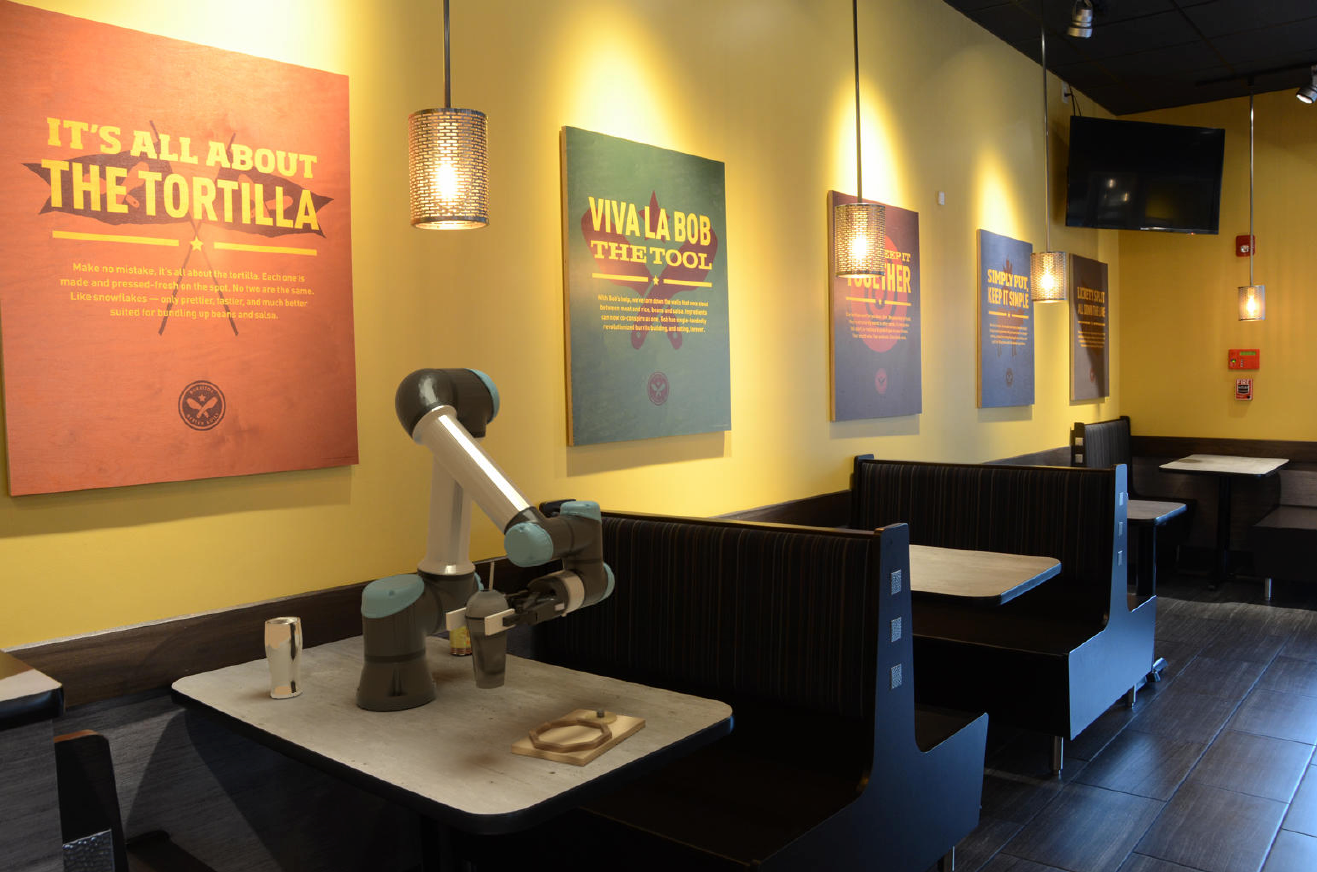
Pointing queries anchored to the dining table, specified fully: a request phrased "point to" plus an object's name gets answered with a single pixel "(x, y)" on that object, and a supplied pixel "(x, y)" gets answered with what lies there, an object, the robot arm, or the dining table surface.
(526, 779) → the dining table surface
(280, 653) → the beer glass
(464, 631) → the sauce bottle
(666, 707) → the dining table surface
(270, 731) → the dining table surface
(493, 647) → the beverage cup
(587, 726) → the board
